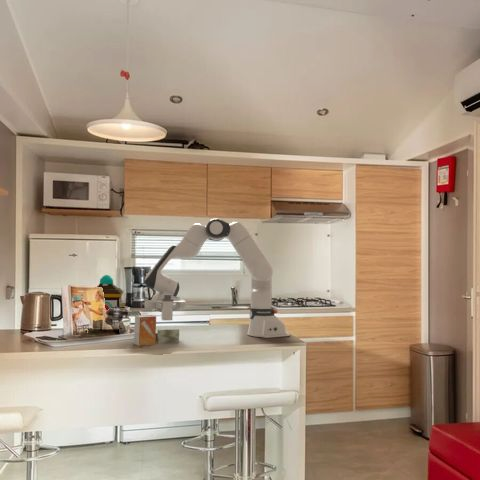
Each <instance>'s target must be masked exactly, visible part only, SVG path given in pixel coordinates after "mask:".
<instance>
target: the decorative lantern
mask: <svg viewBox="0 0 480 480" xmlns="http://www.w3.org/2000/svg"><path fill="white" fill-rule="evenodd" d="M96 287H102V288H103V292H104V298H105V308H106V310H108V309H109V308H110V307H115V306H118V307H125V304H124V302H123V301H122V296H123V295H124V291H123V289H121V288H120V287H118V286H117V285H115V284H114V279H113V277H112V276H111V275H109V274H104V275H103V276H101V278H100V279H99V284H98V285H97V286H96ZM125 308H126V307H125Z"/></svg>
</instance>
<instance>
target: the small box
mask: <svg viewBox="0 0 480 480" xmlns="http://www.w3.org/2000/svg"><path fill="white" fill-rule="evenodd" d="M156 329H157V316H156V315H153V314H140V315H139V314H138V315H134V332H133V333H134V334H133V344H134V345H136V346H138V347H141V346H155V345H156V341H155V337H156V333H157V330H156Z"/></svg>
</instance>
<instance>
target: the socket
mask: <svg viewBox="0 0 480 480" xmlns="http://www.w3.org/2000/svg"><path fill="white" fill-rule="evenodd" d="M155 343H156V344H176V343H177V344H178V343H180V329H179V328H178V329H175V328H174V329H157V332H156V337H155Z"/></svg>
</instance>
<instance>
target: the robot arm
mask: <svg viewBox="0 0 480 480" xmlns="http://www.w3.org/2000/svg"><path fill="white" fill-rule="evenodd" d="M224 238H225V239H227V240H228V241H229V242H230V244H231V245H232V247H233V248H234V250H235V251H236V253H237V255H238V256H239V258H240V259H241V261H242V262H243V264H244V266H245V267H246V269H247V270H248V272H249V274H250V276H251V277H250V307H249V312H248V313H249V325H248V330H247V334H246V335H247V336H251V337H255V338H258V337H259V338H265V339H267V338H268V339H269V338H270V339H271V338H279V337H290V336H291V335H290V333H289V332H288V331H286V326H285V323H284V322H283V321H282V320H281V319H279V318H278V317H277V316H276V315H275V314H278V313H279V310H278V309H276V308H275V309H274V308H272V303H273V302H272V295H273V293H272V292H273V290H272V277H273V273H274V272H273V268H272V266H271V264H270V262H269V260H268V259H267V258H266V256H265V255H264V253H263V252H262V250H261V249H260V248H259V246H258V244H257V243H256V242H255V240H254V238H253V237H252V235H251V234H250V232H249V231H248V230H247V228H246V227H245V226H244V225H243V224H242V223H241V222H239V221H233V222H231V223H228V222H226V221H225V220H223V219H221V218H212V219H210V220H209V221H208V222H207V224H206V225H203V224H201V223H194V224H192V225H191V226H190V227H189V228H188V230H187V231H186V232H185V234H184V235H183V237H182V239H181V240H180V242H178V243H177V244H172V245H171V246H170V247H169V248H168V249H167V250H166V251H165V253H164V254H163V255H162V256H161V258H160V259H159V260H158V261H157V263H156V264H155V265H154V266H153V267H152V269H150V270H149V271H148V272H147V274H146V275H145V277H144V279H143V280H144V281H143V282H144V285H145V287H146V288H148V289H151V290H154V291H156V292H157V293H155V294H154V295H152V298H151V299H149V300H145V301H144V302H142V305H143V306H144V309H146V310H157V311H158V312H159V313H162V308H163V304H162V298H164V294H170V295H171V298H172V299H173V311H179V310H181V309H182V310H183V309H184V310H185V309H186V308H187V301H186V300H184V299H183V298H181V297H180V296H178V293H179V292H180V283H179V280H176V279H175V278H172V277H171V276H168V275H167V274H165V273H163V272H162V270H163V269H164V268H165V267H166V266H167V264H168V263H169V262H170V261H171V260H172V259H185V260H189V259H194V258H195V257H197V255H198V254H199V253H200V251H201V250H202V248H203V245H204V243H205V242H206V241H207V240H209V241H213V242H219V241H222V240H223V239H224Z"/></svg>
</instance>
